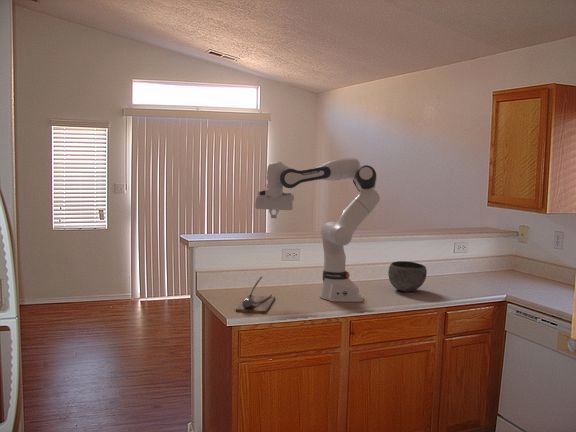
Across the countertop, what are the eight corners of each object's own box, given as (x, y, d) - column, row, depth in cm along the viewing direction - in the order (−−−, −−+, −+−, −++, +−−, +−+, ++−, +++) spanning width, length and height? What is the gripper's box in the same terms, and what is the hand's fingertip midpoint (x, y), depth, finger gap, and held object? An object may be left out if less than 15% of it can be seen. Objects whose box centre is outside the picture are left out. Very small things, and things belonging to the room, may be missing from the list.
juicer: (272, 295, 294) (257, 313, 265) (250, 294, 296) (234, 311, 267) (272, 277, 292) (257, 292, 263) (251, 275, 294) (234, 290, 265)
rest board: (275, 299, 292) (275, 296, 292) (265, 313, 265) (265, 310, 265) (248, 297, 294) (248, 295, 294) (235, 311, 267) (235, 309, 267)
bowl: (398, 296, 307) (400, 268, 305) (380, 287, 327) (381, 261, 325) (433, 294, 314) (434, 267, 312) (413, 285, 333) (414, 260, 332)
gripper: (294, 192, 310) (293, 218, 312) (257, 191, 313) (256, 216, 314) (293, 193, 304) (292, 219, 306) (254, 192, 307) (254, 217, 308)
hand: (273, 218), depth 310 cm, fingers closed
